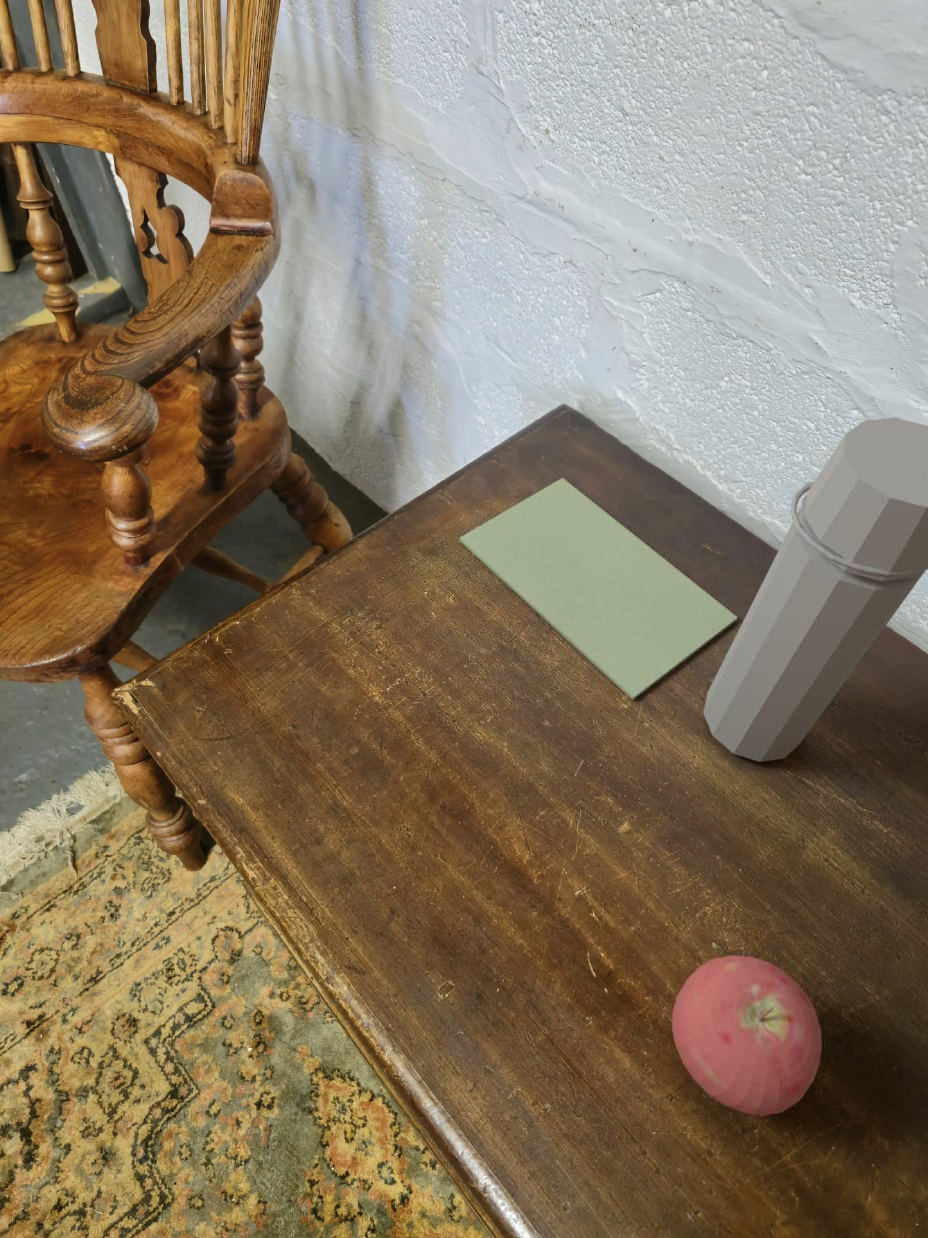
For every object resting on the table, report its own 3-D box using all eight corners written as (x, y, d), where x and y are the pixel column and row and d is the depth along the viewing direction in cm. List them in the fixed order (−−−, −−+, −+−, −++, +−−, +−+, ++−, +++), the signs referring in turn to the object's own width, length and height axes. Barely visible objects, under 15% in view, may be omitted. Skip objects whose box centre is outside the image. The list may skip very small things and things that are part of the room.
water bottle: (813, 773, 59) (1013, 521, 39) (700, 763, 59) (842, 507, 39) (791, 664, 64) (957, 396, 45) (688, 655, 65) (808, 384, 45)
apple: (687, 954, 51) (725, 909, 45) (805, 1024, 49) (863, 988, 43) (636, 1070, 47) (670, 1039, 41) (762, 1152, 45) (819, 1133, 39)
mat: (736, 620, 67) (738, 617, 67) (632, 700, 62) (633, 697, 62) (562, 480, 76) (562, 477, 76) (459, 540, 71) (459, 537, 71)
